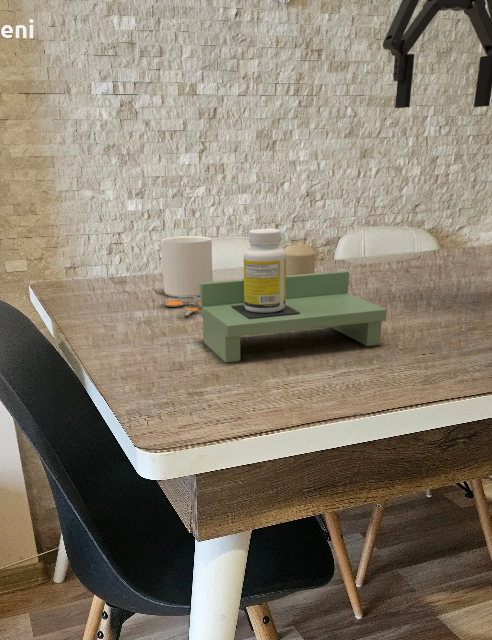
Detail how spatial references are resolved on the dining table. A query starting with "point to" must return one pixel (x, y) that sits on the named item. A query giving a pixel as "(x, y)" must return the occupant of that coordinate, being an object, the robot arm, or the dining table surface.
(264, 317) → the green l-shaped stand
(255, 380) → the dining table surface
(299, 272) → the candle
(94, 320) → the dining table surface
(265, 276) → the supplement bottle
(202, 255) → the mug
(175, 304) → the key chain
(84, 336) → the dining table surface
